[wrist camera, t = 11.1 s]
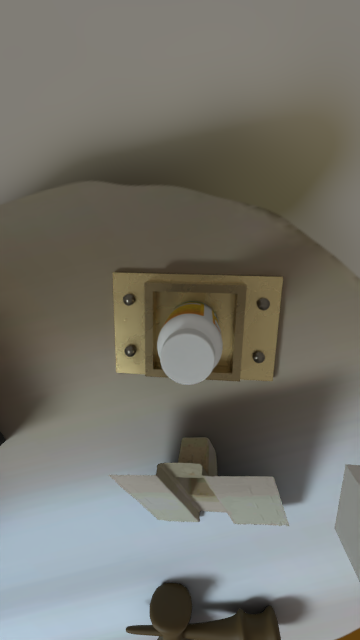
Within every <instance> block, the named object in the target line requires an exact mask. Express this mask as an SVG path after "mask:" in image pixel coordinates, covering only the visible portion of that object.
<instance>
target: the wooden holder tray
mask: <svg viewBox="0 0 360 640" xmlns="http://www.w3.org/2000/svg"><path fill="white" fill-rule="evenodd" d="M282 284H283V277H282V276H244V275H204V274H164V273H124V272H113V296H114V323H115V350H116V373H133V374H145V376H151V377H168V376H167V375H166V374H165V372H164V371H163V369H162V366H161V363H160V357H159V355H158V350H157V341H158V337H159V334H160V331H161V329H162V327H163V326H164V324H165V322H166V320H167V319H168V317H169V315H170V313H171V312H172V311H173V310H174V309H175V308H176V307H177V306H178V305H180V304H182V303H184V302H188V301H198V302H202V303H204V304H206V305H208V306H209V307H210V308H212V309H213V311H214V312H215V313H216V315H217V317H218V320H219V324H220V330H221V336H222V342H223V349H222V354H221V358H220V360H219V362H218V364H217V365H216V366H215V368H214V369H213V370H212V372H211V374H210V375H209V376H208V377H207V378H206V380H224V381H240V379H243V380H261V381H273V372H274V362H275V353H276V343H277V333H278V323H279V313H280V303H281V293H282Z"/></svg>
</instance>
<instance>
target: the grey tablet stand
mask: <svg viewBox="0 0 360 640" xmlns="http://www.w3.org/2000/svg"><path fill="white" fill-rule="evenodd" d="M109 476H110V477H112V479H114V480H115V481H116V482H117V483H118V484H119V485H120V487H122V488H123V489H124V490H126V492H128V493H129V494H131V496H132V497H133V498H135V499H136V500H137V501H139V503H140V504H142V505H143V506H144V507H145V508H146V509H148V511H150V512H151V514H152V515H154V517H156V518H157V519H158V520H166V521H181V522H185V521H186V522H200V518H199V515H200V513H199V512H200V511H209V512H226V513H228V515H229V516H230V518H231V519H232V521H233V523H235V524H254V525H257V524H259V525H261V524H263V525H264V524H265V525H279V526H282V525H286V526H289V523H288V521H287V519H286V518H287V517H286V514H285V511H284V508H283V504H282V501H281V498H280V495H279V493H278V489H277V488H278V487H277V485H275V484H276V482H274V481H275V479H274V478H273V477H274V476H273V477H269V476H261V477H260V476H244V477H242V476H234V477H232V476H218V475H217V459H216V451H215V449H214V447H213V446H212V444H211V442H210V440H209V439H208V438H206V437H192V438H183V439H182V441H181V447H180V453H179V459H178V463H161V464H158V465H157V472H156V475H151V476H150V475H148V476H147V475H121V476H120V475H109Z"/></svg>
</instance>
